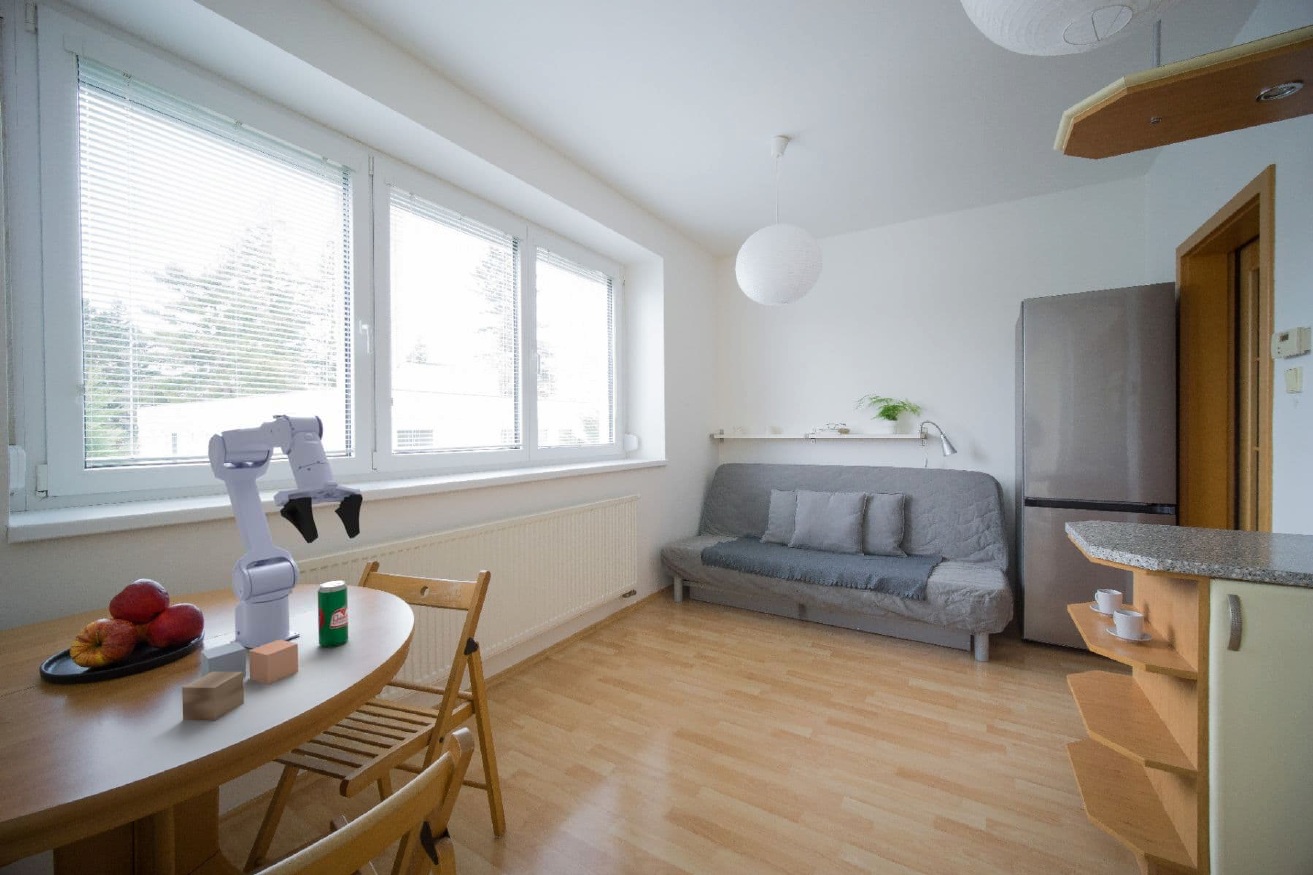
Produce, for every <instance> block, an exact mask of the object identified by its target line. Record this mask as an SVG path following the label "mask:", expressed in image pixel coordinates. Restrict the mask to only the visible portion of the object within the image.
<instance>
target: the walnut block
mask: <svg viewBox="0 0 1313 875" xmlns="http://www.w3.org/2000/svg"><path fill="white" fill-rule="evenodd" d="M244 687H245V686H244V677H243V672H214V671H213V672H211V673H209V674H207V675H205V676H203V677H200V678H199V677H198V678H197V679H196V680H194V681H192V682H190V683H188V684H186V685H184V686H182V687H181V690H182V691H181V692H182V694H181V696H182V698H181V699H182V720H183V721H200V722H201V721H202V722H203V721H205V722H207V721H209V722H210V721H211V722H216V721H217V720H219V719H221V718H222V717H224V716H226V715H227V714H229V713H230V712H231V711H233V710H235V709H237V708H238V707H240V706H242V705H243V704H244V703H245V695H244V693H245V692H244Z"/></svg>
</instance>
